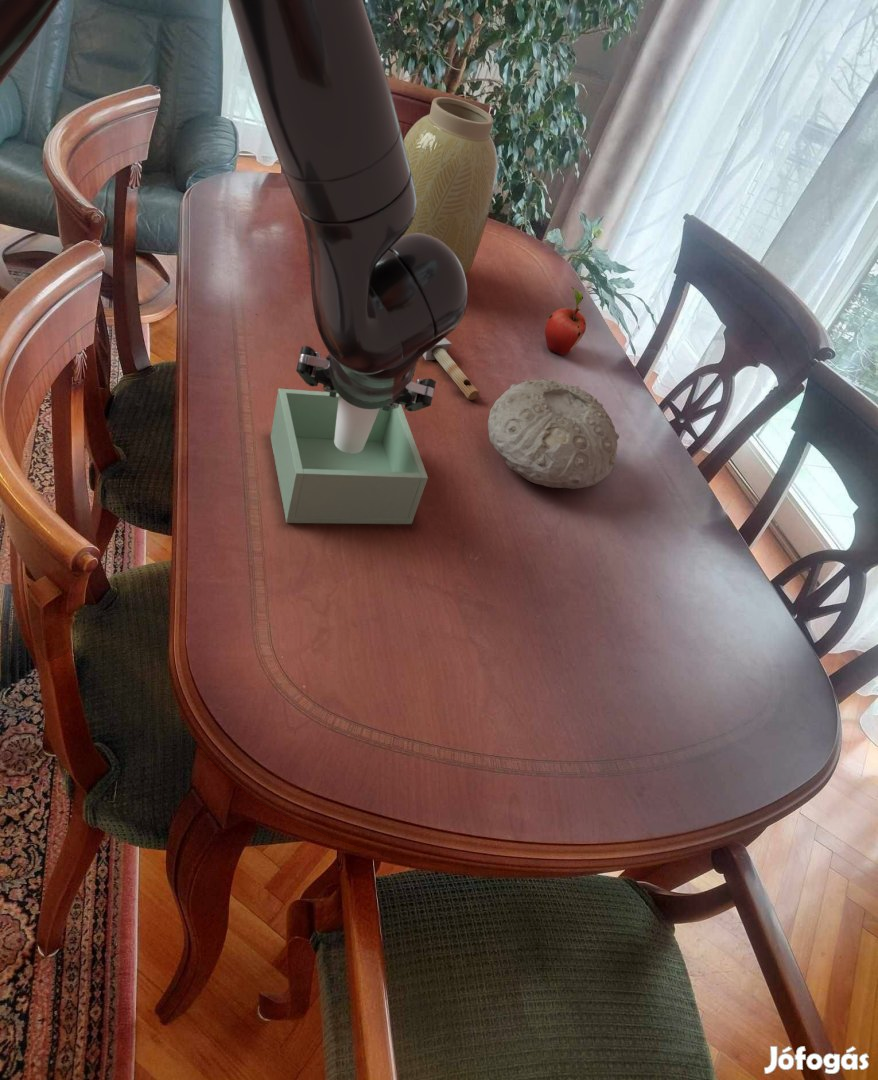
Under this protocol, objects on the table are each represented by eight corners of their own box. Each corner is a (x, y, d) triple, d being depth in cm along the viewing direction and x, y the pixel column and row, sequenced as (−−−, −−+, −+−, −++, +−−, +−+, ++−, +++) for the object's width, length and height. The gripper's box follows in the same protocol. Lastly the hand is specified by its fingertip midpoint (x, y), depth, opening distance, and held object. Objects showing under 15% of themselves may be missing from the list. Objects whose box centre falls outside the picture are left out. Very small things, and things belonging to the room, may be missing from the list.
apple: (583, 361, 130) (608, 308, 124) (551, 363, 127) (574, 308, 120) (558, 335, 135) (581, 282, 128) (527, 336, 131) (549, 282, 125)
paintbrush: (421, 305, 122) (487, 387, 112) (416, 320, 124) (480, 402, 114) (400, 306, 120) (465, 389, 110) (395, 321, 122) (459, 404, 112)
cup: (317, 433, 89) (336, 342, 81) (357, 426, 92) (379, 337, 84) (340, 463, 86) (362, 372, 78) (380, 454, 89) (406, 366, 81)
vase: (349, 256, 133) (384, 86, 115) (416, 242, 145) (458, 86, 127) (420, 308, 128) (469, 137, 110) (484, 289, 139) (538, 132, 121)
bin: (286, 523, 85) (296, 473, 80) (270, 437, 95) (278, 388, 90) (411, 524, 91) (428, 477, 86) (385, 443, 100) (398, 396, 95)
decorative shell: (610, 518, 102) (645, 460, 95) (481, 491, 99) (507, 429, 92) (589, 435, 115) (618, 379, 108) (474, 409, 111) (497, 349, 105)
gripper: (459, 340, 71) (430, 378, 88) (302, 297, 69) (304, 345, 85) (440, 420, 71) (416, 443, 87) (283, 379, 68) (288, 411, 85)
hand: (360, 394), depth 86 cm, fingers closed on cup, 5 cm apart
